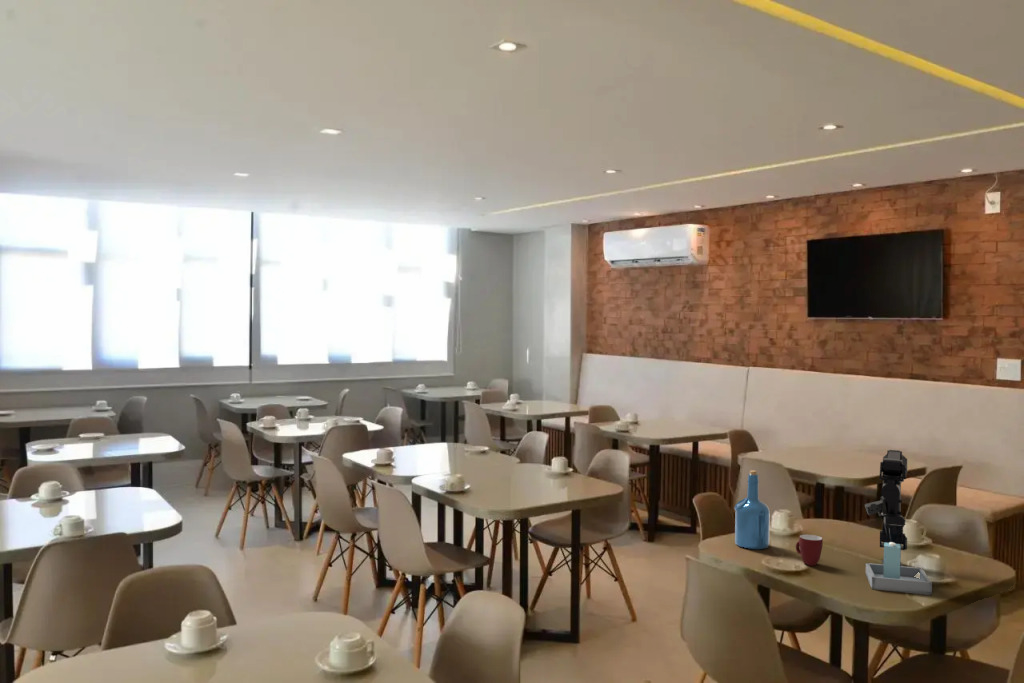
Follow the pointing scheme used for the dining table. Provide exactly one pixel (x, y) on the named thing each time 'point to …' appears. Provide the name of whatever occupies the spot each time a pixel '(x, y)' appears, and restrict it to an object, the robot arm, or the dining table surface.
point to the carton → (891, 560)
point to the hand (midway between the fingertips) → (890, 539)
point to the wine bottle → (752, 518)
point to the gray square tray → (899, 580)
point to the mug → (810, 548)
